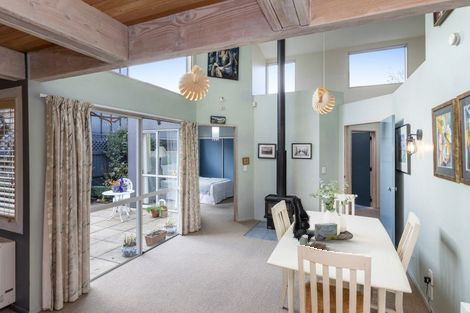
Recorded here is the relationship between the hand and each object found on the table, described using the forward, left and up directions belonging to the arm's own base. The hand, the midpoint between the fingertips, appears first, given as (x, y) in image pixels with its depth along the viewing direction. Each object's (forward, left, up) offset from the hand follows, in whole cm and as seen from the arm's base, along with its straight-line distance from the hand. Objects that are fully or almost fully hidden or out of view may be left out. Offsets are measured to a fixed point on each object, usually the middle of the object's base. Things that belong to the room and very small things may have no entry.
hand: (303, 242), depth 232 cm
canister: (-18, +34, -2) cm, 39 cm away
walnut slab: (+13, +1, -2) cm, 13 cm away
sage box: (0, 0, -2) cm, 2 cm away
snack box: (+11, +26, -2) cm, 28 cm away
